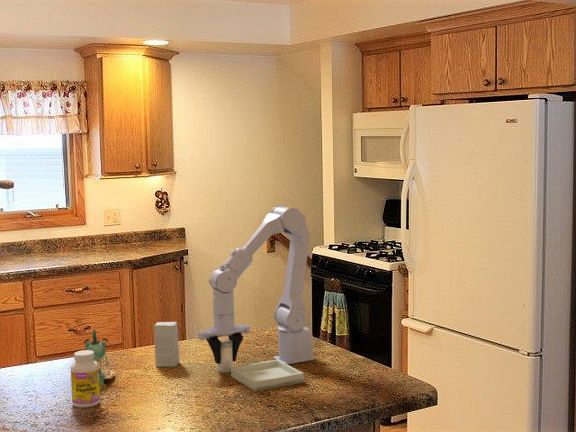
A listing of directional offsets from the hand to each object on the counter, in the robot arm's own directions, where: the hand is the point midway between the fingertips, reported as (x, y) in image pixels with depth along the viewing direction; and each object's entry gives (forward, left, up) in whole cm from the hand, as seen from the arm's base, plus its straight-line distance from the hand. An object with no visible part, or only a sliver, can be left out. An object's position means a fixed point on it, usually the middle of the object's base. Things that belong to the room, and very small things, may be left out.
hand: (225, 361), depth 217 cm
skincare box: (+12, -14, -3) cm, 19 cm away
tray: (-6, +13, -2) cm, 15 cm away
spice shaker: (0, 0, -2) cm, 2 cm away
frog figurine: (+33, -11, -3) cm, 35 cm away
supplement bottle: (+40, +7, -3) cm, 41 cm away
